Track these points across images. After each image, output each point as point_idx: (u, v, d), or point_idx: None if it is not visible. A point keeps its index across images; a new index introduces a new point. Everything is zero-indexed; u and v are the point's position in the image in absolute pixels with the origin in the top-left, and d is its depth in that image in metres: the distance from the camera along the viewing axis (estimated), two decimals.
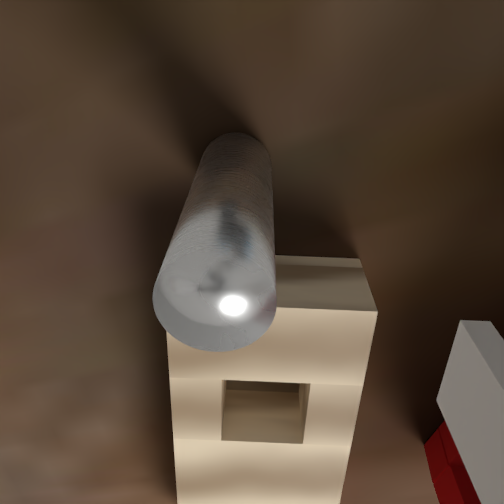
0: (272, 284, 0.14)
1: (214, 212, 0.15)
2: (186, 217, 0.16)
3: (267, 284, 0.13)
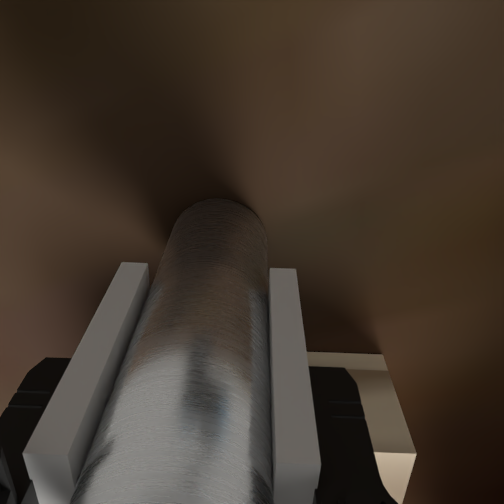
0: None
1: (166, 396, 0.09)
2: (122, 393, 0.09)
3: None
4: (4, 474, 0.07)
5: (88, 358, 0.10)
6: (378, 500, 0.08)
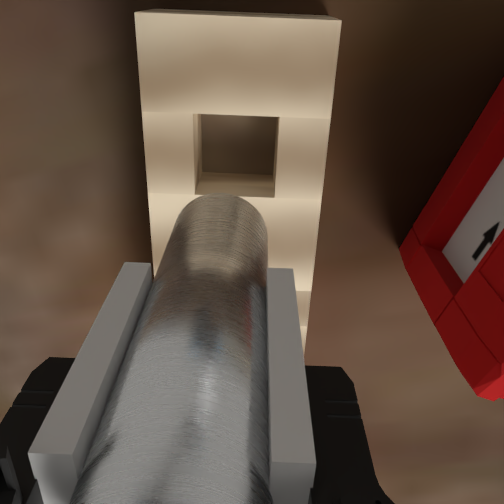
0: None
1: (170, 378, 0.09)
2: (128, 375, 0.10)
3: None
4: (9, 474, 0.07)
5: (92, 358, 0.10)
6: (373, 499, 0.08)
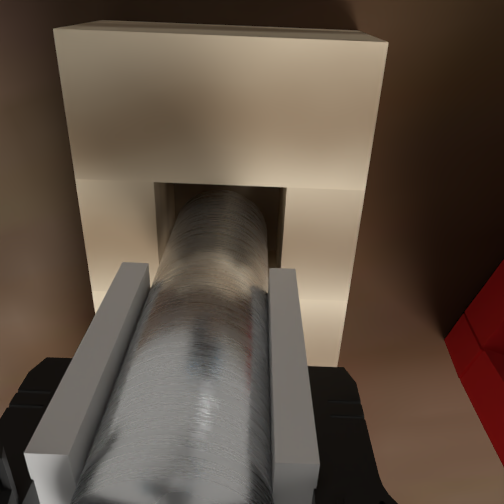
0: None
1: (174, 366, 0.09)
2: (132, 364, 0.10)
3: None
4: (5, 474, 0.07)
5: (89, 358, 0.10)
6: (377, 500, 0.08)
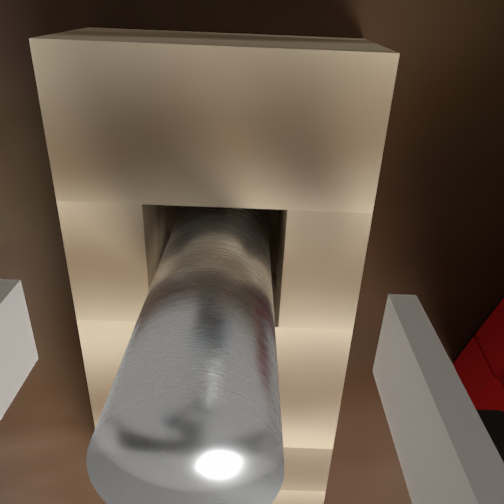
0: (277, 442, 0.08)
1: (186, 314, 0.10)
2: (147, 317, 0.11)
3: (269, 443, 0.08)
4: None
5: None
6: None
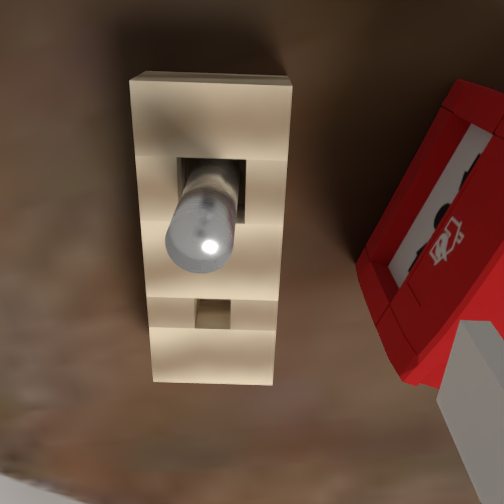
0: (230, 232, 0.25)
1: (199, 195, 0.27)
2: (183, 199, 0.27)
3: (227, 232, 0.25)
4: None
5: None
6: None
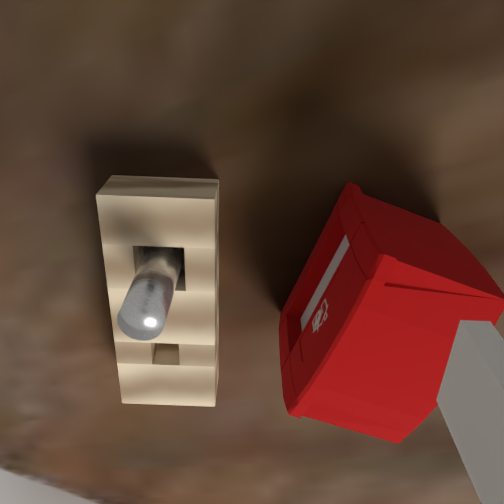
0: (161, 314, 0.36)
1: (142, 284, 0.38)
2: (132, 285, 0.38)
3: (159, 314, 0.36)
4: None
5: None
6: None
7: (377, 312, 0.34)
